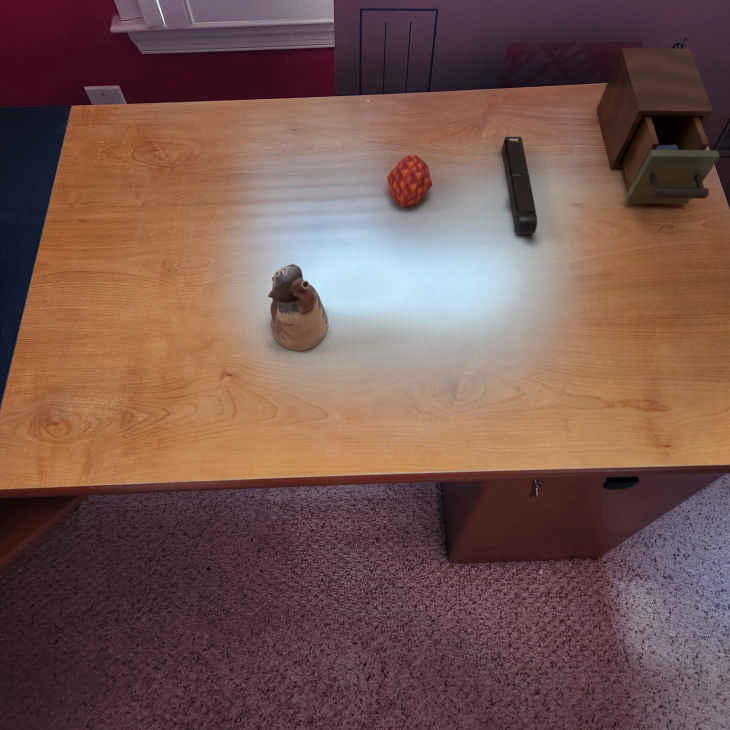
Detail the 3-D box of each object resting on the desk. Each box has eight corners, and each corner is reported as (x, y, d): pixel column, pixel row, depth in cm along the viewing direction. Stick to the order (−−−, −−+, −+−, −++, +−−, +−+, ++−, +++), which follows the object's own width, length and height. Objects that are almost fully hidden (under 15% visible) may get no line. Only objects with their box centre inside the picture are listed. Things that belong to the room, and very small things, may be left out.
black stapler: (533, 238, 82) (539, 223, 79) (515, 238, 82) (520, 223, 79) (517, 148, 90) (521, 132, 88) (500, 148, 90) (504, 133, 88)
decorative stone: (386, 211, 88) (399, 162, 88) (428, 218, 86) (442, 167, 86) (375, 194, 81) (389, 141, 82) (420, 201, 79) (435, 147, 80)
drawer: (693, 225, 82) (728, 178, 74) (631, 224, 82) (658, 177, 74) (668, 143, 90) (697, 93, 82) (611, 142, 90) (634, 92, 82)
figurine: (304, 296, 78) (294, 237, 67) (339, 329, 75) (334, 273, 65) (262, 326, 75) (245, 270, 65) (296, 362, 73) (284, 309, 62)
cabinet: (676, 170, 88) (713, 111, 79) (610, 169, 88) (639, 110, 79) (657, 110, 94) (689, 48, 85) (596, 109, 95) (621, 47, 85)
